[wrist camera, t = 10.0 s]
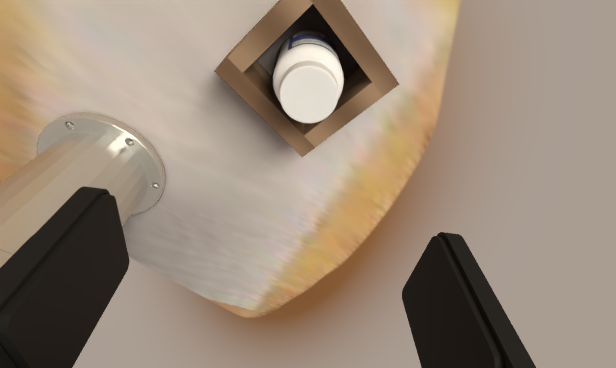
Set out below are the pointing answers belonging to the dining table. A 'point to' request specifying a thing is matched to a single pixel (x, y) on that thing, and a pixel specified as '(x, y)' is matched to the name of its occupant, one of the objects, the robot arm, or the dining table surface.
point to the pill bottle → (308, 76)
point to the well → (259, 84)
